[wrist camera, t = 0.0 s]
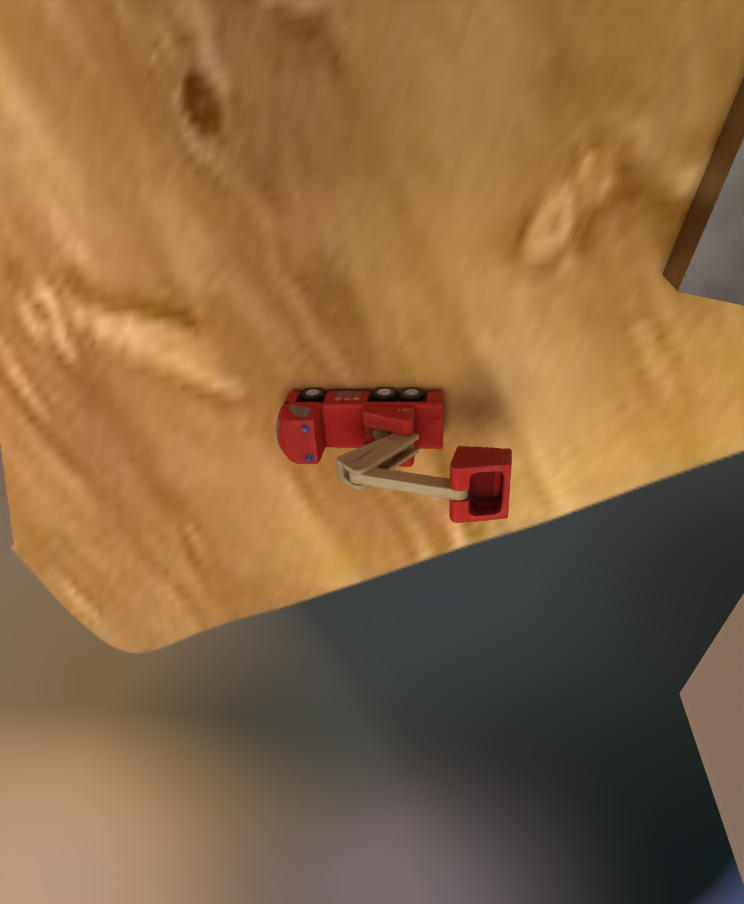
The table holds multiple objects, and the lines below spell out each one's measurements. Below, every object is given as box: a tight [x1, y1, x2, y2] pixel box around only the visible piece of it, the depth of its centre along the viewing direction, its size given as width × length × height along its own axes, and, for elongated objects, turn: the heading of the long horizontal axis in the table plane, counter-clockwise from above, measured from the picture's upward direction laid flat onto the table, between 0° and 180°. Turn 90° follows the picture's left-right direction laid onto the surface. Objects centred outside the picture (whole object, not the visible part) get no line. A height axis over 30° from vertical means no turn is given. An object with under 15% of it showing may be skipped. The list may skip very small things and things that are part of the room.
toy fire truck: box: [276, 388, 512, 523], centre depth 37 cm, size 3×14×10 cm, turn 93°
